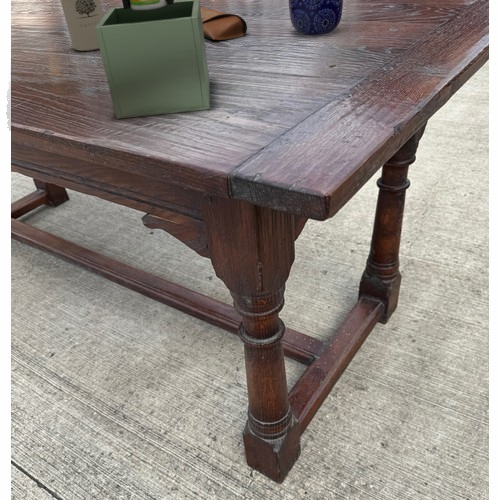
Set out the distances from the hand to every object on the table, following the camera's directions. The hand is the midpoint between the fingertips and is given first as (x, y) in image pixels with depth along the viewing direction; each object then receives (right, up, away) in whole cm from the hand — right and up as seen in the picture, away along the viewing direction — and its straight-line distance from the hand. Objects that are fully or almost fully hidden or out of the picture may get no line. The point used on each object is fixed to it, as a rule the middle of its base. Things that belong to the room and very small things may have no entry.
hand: (149, 4), depth 72 cm
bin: (+1, -11, +8) cm, 14 cm away
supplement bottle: (0, 0, 0) cm, 1 cm away
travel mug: (-20, +10, +40) cm, 45 cm away
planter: (+28, +11, +34) cm, 45 cm away
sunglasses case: (+5, +13, +41) cm, 44 cm away
